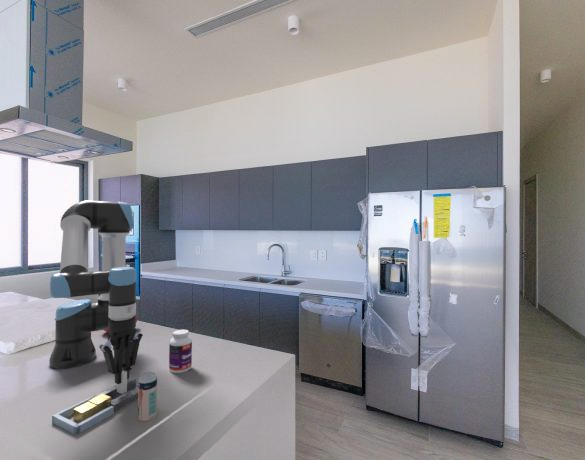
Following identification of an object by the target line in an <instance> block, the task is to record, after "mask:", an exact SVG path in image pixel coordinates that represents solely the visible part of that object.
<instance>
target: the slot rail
mask: <svg viewBox="0 0 585 460" xmlns="http://www.w3.org/2000/svg"><path fill="white" fill-rule="evenodd" d="M101 394H104V395H107V396H110V397H111V403H110V406H114V413H115V412H116V411H119V410H120V409H122V408H124V407H126V406H128V405H129V404H131V403H132V402H134V401H136V400H138V383H137V378H136V377H129V379H128V380H127V392H125V393H123V394H121V393H119V392H117V384H116V385H114V386H111V387H110V388H108V389H106V390H104V391H102V392H100V393H97V394H96V395H94V396H92V399H93V398H95V397H97V396H99V395H101Z"/></svg>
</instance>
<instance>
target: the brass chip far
mask: <svg viewBox="0 0 585 460" xmlns="http://www.w3.org/2000/svg"><path fill="white" fill-rule="evenodd" d="M89 402H91V403H93V404H95V405H97V413H99V412H101V411H103V410H105V409H106V408H108V407H110V403H111V397H110V396H107V395H104V394H101V395H99V396H97V397H95V398H93V397H92V399H91V400H89Z"/></svg>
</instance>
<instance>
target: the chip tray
mask: <svg viewBox="0 0 585 460" xmlns="http://www.w3.org/2000/svg"><path fill="white" fill-rule="evenodd" d="M91 399H93V396H92V397H91V396H89V397H87V398H85V399H83V400H81V401H79V402H77V403H75V404H73V405H70V406H68V407H67V408H65V409H62V410H60V411H59V412H56V413H55V414H53V415H51V423H52V424H54V425H55V426H58V427H60V428H62V429H63V430H66V431H68V432H69V433H71V434H73V435H75V436H77V435H79V434H80V433H82V432H84V431H86V430H88V429H89V428H91V427H93V426H95V425H96V424H98V423H99V422H101V421H103V420H105V419H106V418H108V417H110V416H112V415H114V414H115V412H114V406H110V407H108V408H106V409H105V410H103V411H101V412H99V413H97V414H95V415H94V416H92V417H90V418H88V419H86V420H84V421H83V422H78V423H77V422H75V421H72V420H71V419H69V418H68V417H70V416H72V415H73V411H74V409H75V408H77V407H79V406H81V405H83V404H85V403H87V402H89V400H91Z"/></svg>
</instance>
